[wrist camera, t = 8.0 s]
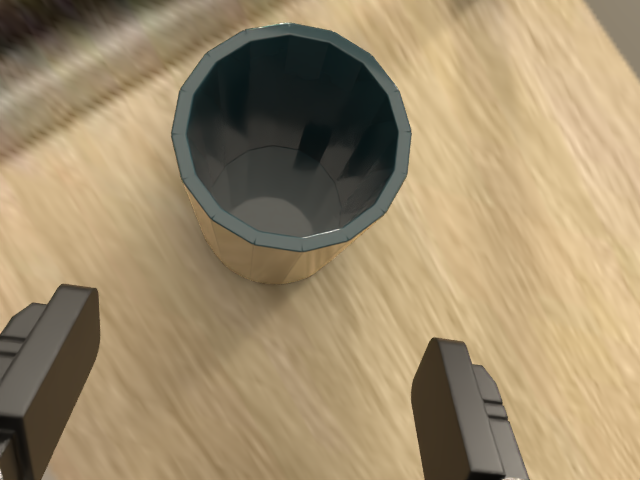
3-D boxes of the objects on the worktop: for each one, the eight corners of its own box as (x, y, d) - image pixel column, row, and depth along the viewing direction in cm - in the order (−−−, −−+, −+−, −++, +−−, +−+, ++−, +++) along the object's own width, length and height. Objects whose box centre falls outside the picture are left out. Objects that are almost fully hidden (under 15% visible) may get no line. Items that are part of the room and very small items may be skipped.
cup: (189, 273, 23) (151, 229, 14) (214, 131, 24) (195, 2, 15) (337, 294, 24) (398, 267, 14) (354, 155, 25) (420, 48, 15)
